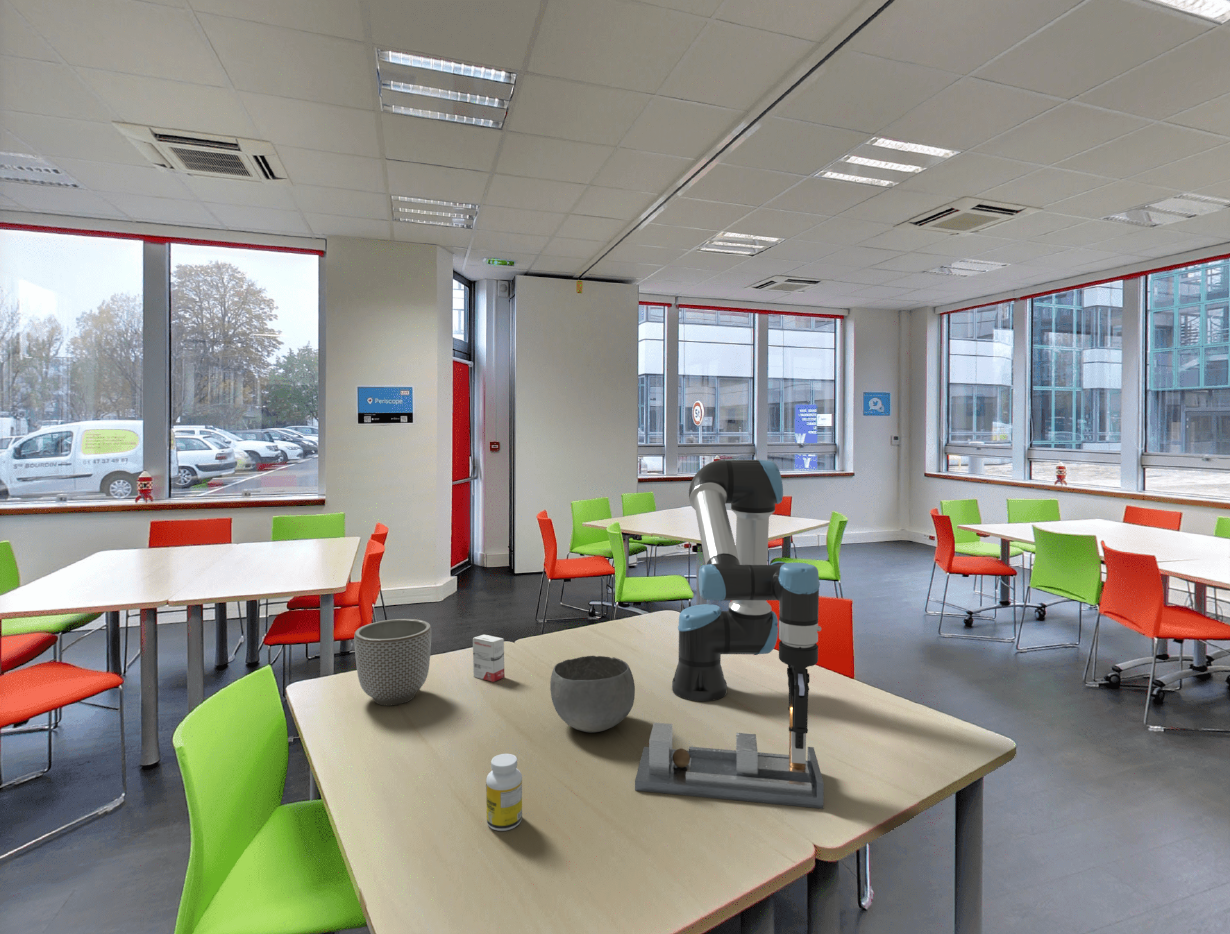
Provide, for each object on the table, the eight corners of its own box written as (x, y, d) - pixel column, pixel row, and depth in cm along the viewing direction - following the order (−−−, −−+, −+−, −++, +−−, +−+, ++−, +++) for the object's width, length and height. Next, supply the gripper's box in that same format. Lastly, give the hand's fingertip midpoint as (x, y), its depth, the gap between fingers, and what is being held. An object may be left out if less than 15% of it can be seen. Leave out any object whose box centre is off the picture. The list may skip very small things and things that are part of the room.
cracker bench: (634, 790, 124) (634, 746, 124) (644, 755, 138) (644, 715, 138) (823, 808, 118) (823, 762, 118) (813, 770, 132) (813, 728, 131)
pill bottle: (488, 812, 117) (488, 751, 117) (523, 810, 118) (523, 750, 117) (484, 834, 111) (483, 769, 110) (521, 831, 111) (520, 768, 111)
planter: (338, 706, 164) (337, 635, 163) (391, 680, 182) (390, 615, 182) (398, 718, 157) (396, 643, 156) (447, 690, 175) (446, 622, 174)
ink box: (505, 677, 184) (505, 638, 184) (494, 682, 180) (493, 642, 180) (484, 671, 189) (483, 633, 188) (472, 676, 185) (471, 637, 184)
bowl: (647, 717, 158) (647, 658, 157) (613, 753, 139) (613, 687, 138) (576, 702, 166) (575, 647, 166) (534, 735, 148) (534, 673, 147)
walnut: (668, 766, 130) (668, 749, 130) (681, 760, 132) (681, 743, 132) (681, 773, 127) (681, 755, 127) (693, 767, 129) (693, 750, 129)
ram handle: (736, 779, 124) (737, 710, 123) (736, 760, 131) (736, 695, 131) (809, 786, 121) (810, 716, 121) (805, 766, 129) (805, 700, 128)
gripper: (824, 656, 116) (822, 780, 117) (812, 630, 132) (811, 739, 133) (782, 654, 117) (781, 777, 118) (775, 628, 133) (774, 737, 134)
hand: (797, 757), depth 125 cm, fingers closed on ram handle, 3 cm apart
